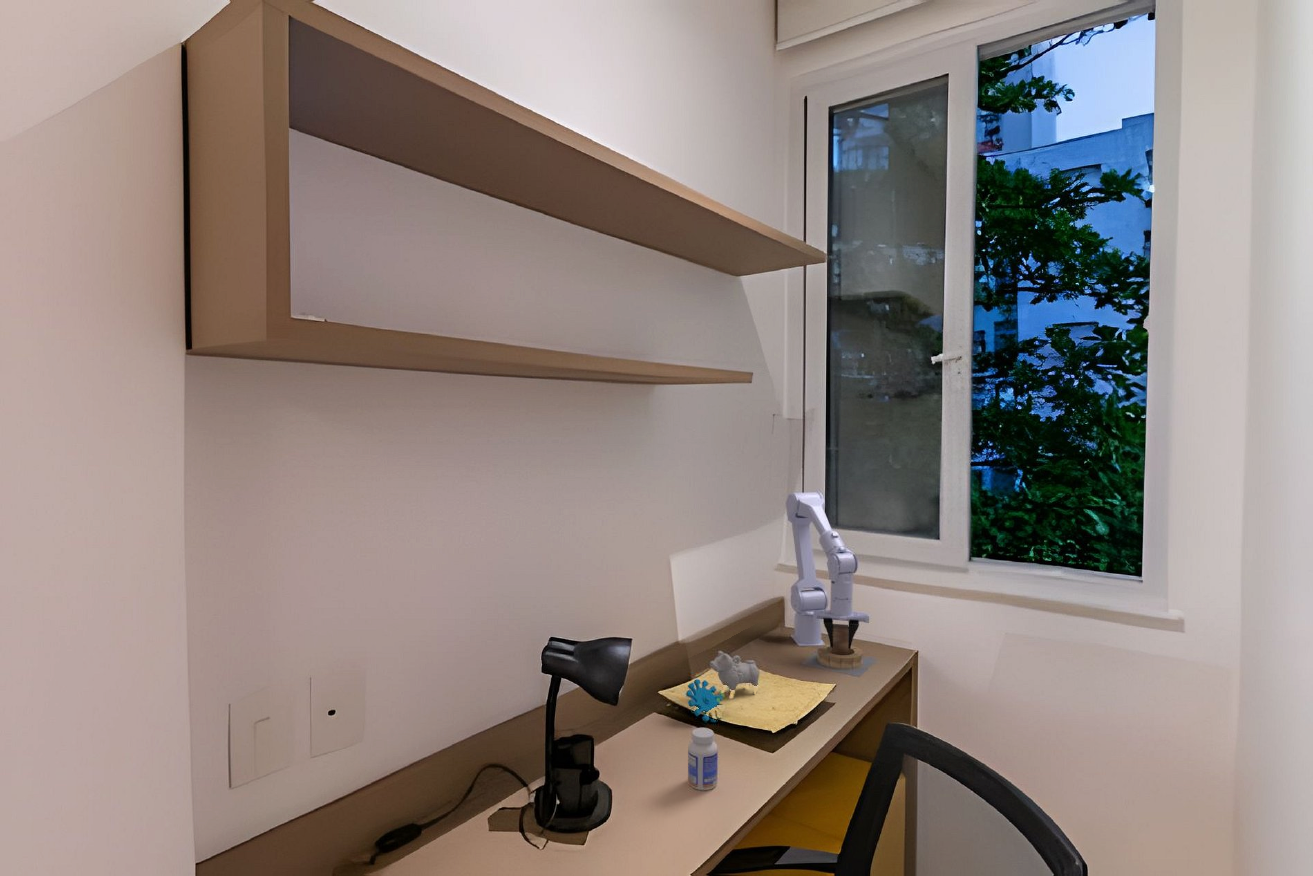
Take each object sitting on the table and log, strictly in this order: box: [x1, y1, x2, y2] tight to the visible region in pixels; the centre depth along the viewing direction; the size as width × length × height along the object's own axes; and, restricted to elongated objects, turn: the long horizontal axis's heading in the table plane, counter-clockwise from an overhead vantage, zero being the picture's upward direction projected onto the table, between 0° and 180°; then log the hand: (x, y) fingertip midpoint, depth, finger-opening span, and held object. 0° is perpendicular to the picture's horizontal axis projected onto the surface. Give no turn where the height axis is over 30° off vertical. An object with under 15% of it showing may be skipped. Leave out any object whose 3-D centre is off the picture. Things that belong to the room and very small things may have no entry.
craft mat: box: [800, 650, 879, 678], centre depth 199 cm, size 16×16×1 cm
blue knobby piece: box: [685, 679, 725, 723], centre depth 165 cm, size 11×6×10 cm
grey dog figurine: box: [709, 650, 760, 691], centre depth 177 cm, size 5×13×11 cm, turn 114°
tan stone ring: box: [817, 643, 864, 669], centre depth 199 cm, size 12×12×3 cm
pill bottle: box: [687, 727, 719, 791], centre depth 135 cm, size 5×5×10 cm
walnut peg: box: [832, 623, 849, 655], centre depth 198 cm, size 4×4×8 cm
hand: (840, 646), depth 198 cm, fingers closed on walnut peg, 4 cm apart
